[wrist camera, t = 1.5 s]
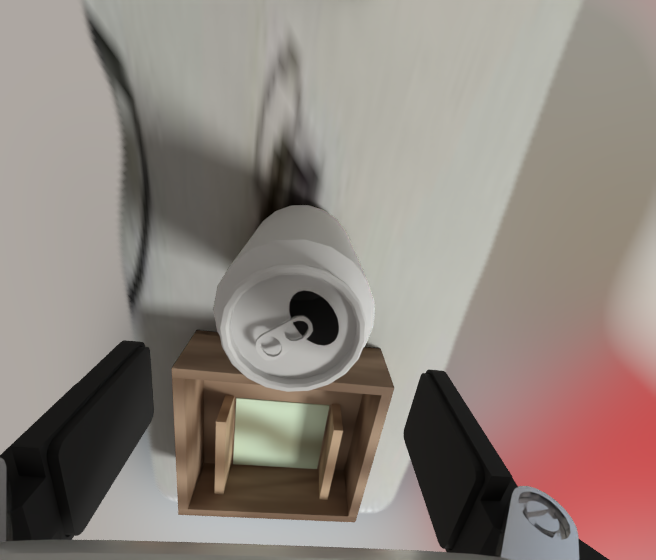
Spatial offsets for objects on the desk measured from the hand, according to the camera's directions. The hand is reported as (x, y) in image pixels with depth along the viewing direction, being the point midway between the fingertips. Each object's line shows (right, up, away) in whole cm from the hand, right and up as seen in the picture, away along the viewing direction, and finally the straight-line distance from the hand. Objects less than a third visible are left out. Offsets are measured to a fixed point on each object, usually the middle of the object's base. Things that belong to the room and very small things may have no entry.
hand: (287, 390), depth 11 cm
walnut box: (-3, -9, +19) cm, 21 cm away
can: (-1, +6, +13) cm, 15 cm away
